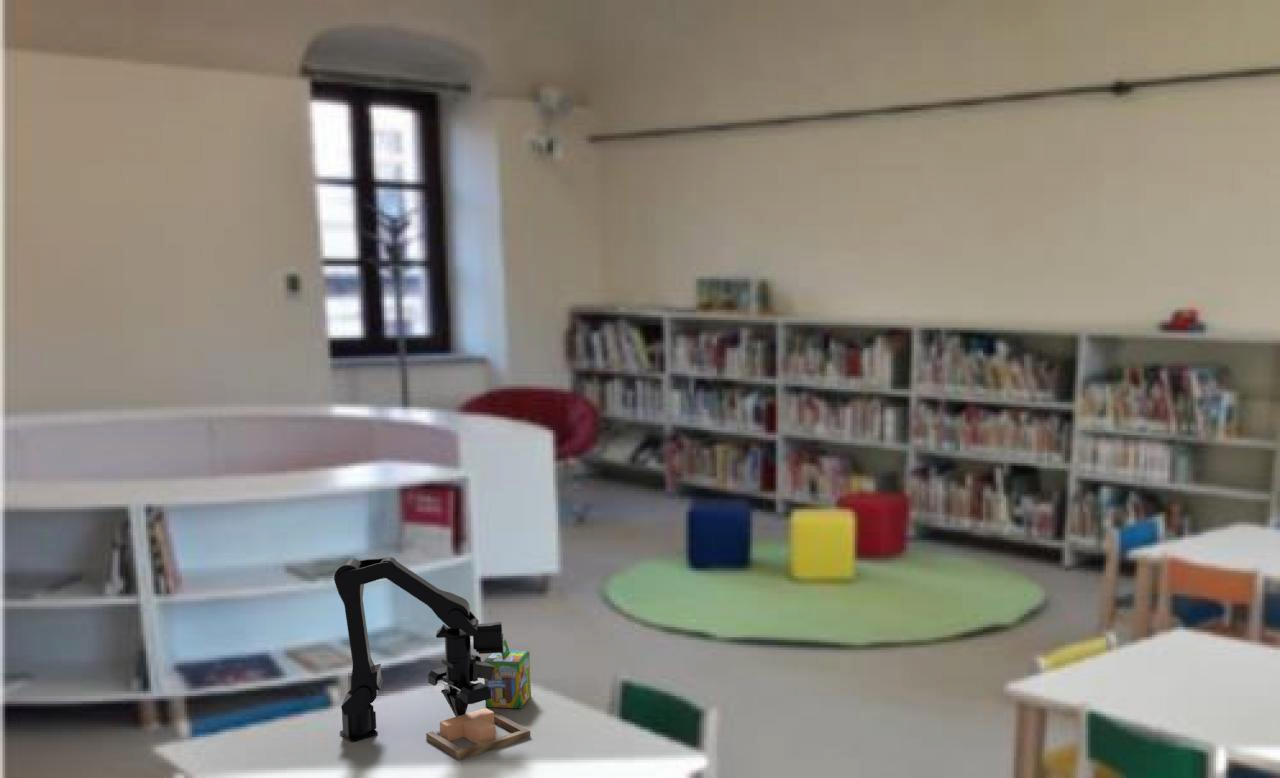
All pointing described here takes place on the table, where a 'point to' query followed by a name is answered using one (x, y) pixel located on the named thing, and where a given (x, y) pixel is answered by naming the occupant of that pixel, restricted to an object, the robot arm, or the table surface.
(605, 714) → the table surface
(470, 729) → the t block
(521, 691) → the chalk box
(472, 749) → the bay
